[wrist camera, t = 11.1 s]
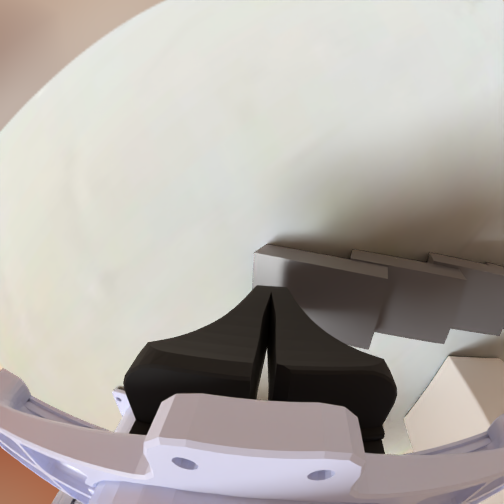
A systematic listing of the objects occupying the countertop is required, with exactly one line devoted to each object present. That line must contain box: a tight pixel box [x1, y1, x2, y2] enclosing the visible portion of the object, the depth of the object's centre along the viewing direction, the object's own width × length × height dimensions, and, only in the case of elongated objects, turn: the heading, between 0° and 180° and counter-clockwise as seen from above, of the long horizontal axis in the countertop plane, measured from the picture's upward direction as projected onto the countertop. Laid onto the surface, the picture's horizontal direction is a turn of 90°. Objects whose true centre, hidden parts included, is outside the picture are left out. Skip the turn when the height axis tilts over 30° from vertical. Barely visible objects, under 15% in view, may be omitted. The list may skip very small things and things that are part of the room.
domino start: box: [252, 244, 388, 350], centre depth 13 cm, size 4×2×6 cm
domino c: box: [427, 252, 504, 336], centre depth 12 cm, size 4×2×6 cm
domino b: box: [350, 249, 467, 344], centre depth 13 cm, size 4×2×6 cm
